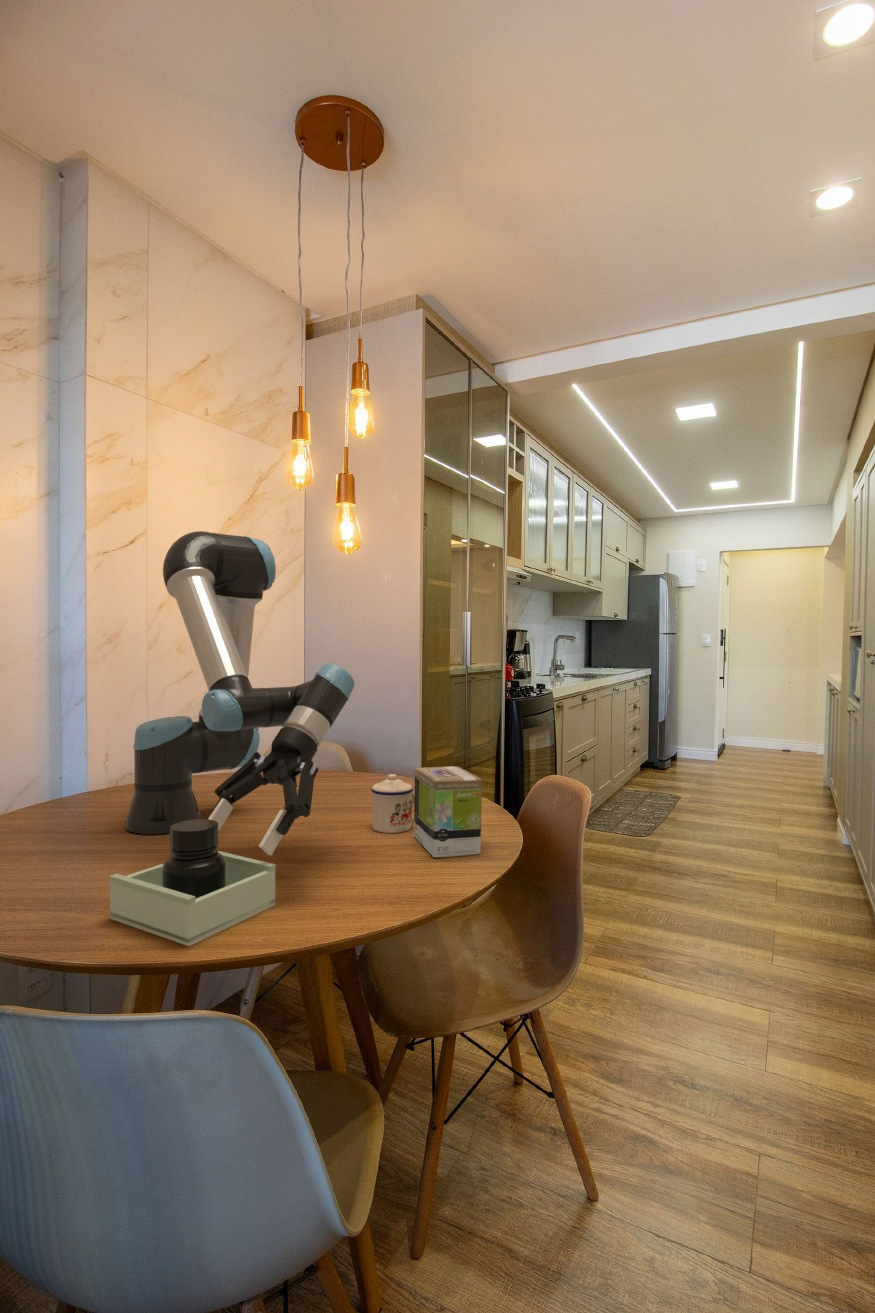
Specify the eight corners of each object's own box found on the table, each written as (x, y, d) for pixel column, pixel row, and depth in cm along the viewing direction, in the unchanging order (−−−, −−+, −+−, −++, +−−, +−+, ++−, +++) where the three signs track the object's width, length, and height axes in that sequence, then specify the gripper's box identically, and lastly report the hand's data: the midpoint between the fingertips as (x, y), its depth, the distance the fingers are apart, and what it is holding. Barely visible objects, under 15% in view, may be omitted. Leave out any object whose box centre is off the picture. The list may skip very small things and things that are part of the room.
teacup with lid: (394, 836, 138) (394, 780, 138) (362, 829, 143) (362, 775, 143) (429, 824, 147) (429, 772, 147) (398, 817, 153) (398, 767, 153)
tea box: (482, 855, 126) (483, 778, 126) (432, 859, 123) (432, 780, 123) (458, 833, 141) (458, 764, 140) (412, 836, 138) (412, 766, 138)
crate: (109, 919, 96) (109, 876, 96) (200, 884, 110) (200, 846, 110) (188, 946, 87) (188, 899, 87) (275, 905, 101) (275, 864, 101)
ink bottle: (219, 889, 105) (219, 814, 105) (235, 907, 98) (235, 827, 98) (154, 902, 100) (153, 823, 100) (166, 922, 93) (166, 837, 92)
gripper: (365, 757, 113) (304, 869, 101) (261, 744, 127) (196, 842, 114) (345, 730, 109) (279, 844, 96) (239, 719, 122) (169, 819, 110)
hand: (234, 843), depth 105 cm, fingers open, 13 cm apart
